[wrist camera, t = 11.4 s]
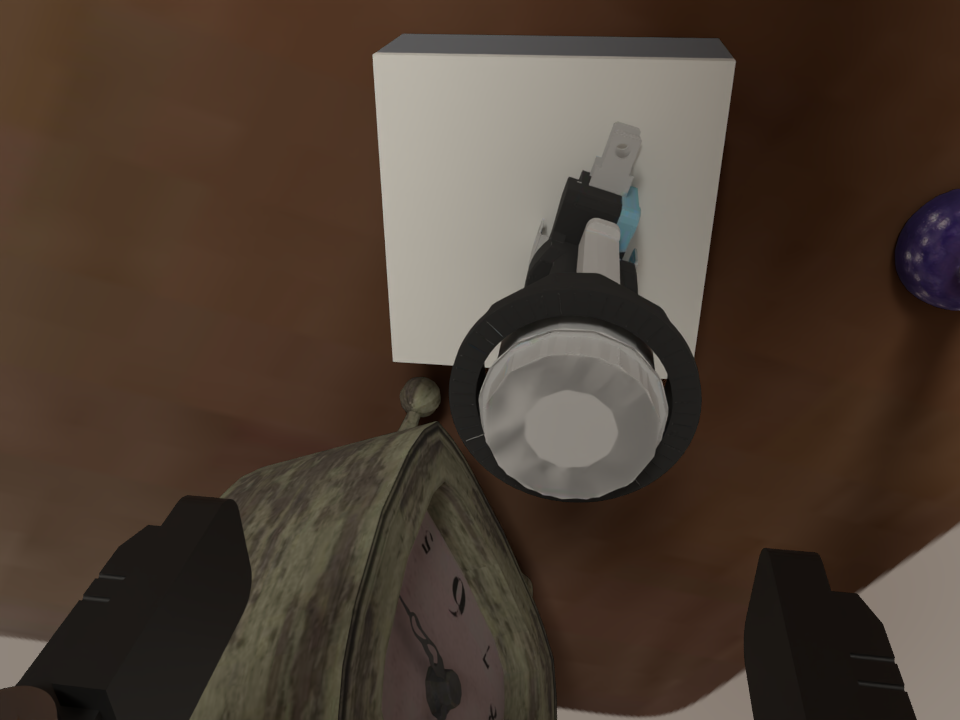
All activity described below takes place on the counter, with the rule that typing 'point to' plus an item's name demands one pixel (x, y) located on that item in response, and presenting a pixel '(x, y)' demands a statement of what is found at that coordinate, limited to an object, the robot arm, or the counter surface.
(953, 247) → the toy lamp
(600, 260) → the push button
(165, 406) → the counter surface
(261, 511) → the tabletop clock
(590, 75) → the plinth
